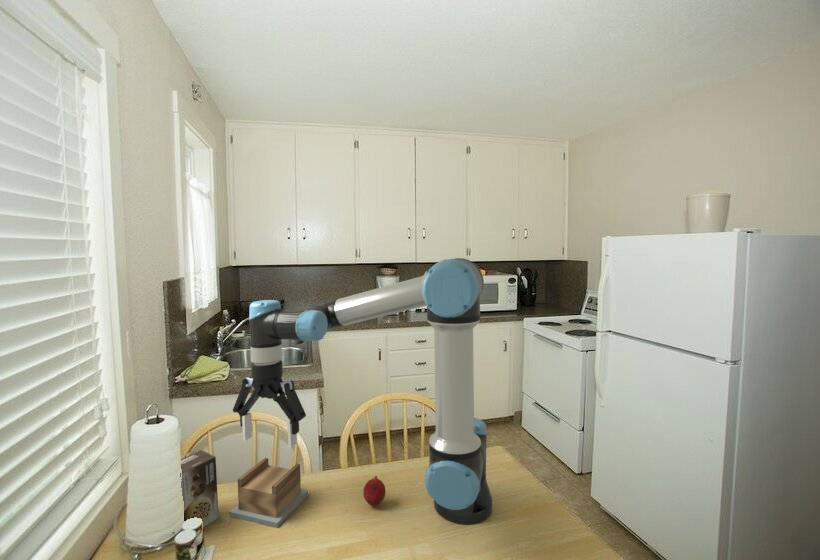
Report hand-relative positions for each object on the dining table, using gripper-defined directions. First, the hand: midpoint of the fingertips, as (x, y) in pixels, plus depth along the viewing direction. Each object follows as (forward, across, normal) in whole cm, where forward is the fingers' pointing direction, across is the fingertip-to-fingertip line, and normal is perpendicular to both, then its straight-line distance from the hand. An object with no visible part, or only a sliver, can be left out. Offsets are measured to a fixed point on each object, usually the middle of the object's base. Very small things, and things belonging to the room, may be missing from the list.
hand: (269, 442), depth 106 cm
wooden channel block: (+16, 0, 0) cm, 16 cm away
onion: (+18, -26, -8) cm, 32 cm away
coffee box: (+17, +14, +12) cm, 25 cm away
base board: (+17, 0, 0) cm, 17 cm away
